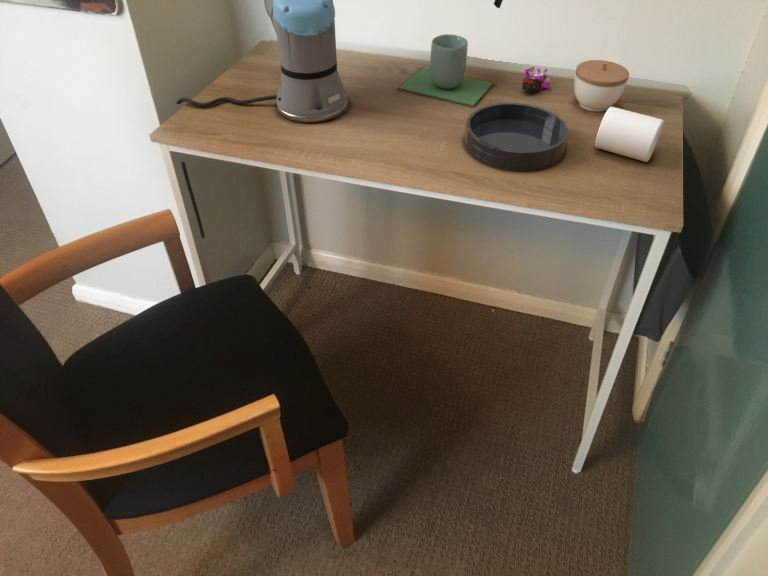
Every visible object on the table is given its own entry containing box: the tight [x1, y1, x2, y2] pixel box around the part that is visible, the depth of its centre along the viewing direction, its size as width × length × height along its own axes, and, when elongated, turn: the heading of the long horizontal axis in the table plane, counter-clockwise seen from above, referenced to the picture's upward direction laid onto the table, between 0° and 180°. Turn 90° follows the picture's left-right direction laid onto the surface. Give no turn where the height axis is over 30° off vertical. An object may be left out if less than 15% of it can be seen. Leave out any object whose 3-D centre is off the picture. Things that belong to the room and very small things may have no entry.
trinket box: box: [573, 59, 630, 113], centre depth 129 cm, size 11×11×9 cm
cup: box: [429, 33, 469, 89], centre depth 135 cm, size 8×8×10 cm
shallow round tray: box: [464, 102, 569, 172], centre depth 119 cm, size 19×19×4 cm
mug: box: [594, 106, 665, 163], centre depth 117 cm, size 12×10×8 cm
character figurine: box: [521, 66, 551, 93], centre depth 137 cm, size 6×5×12 cm
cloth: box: [398, 67, 494, 107], centre depth 138 cm, size 18×12×1 cm, turn 62°
